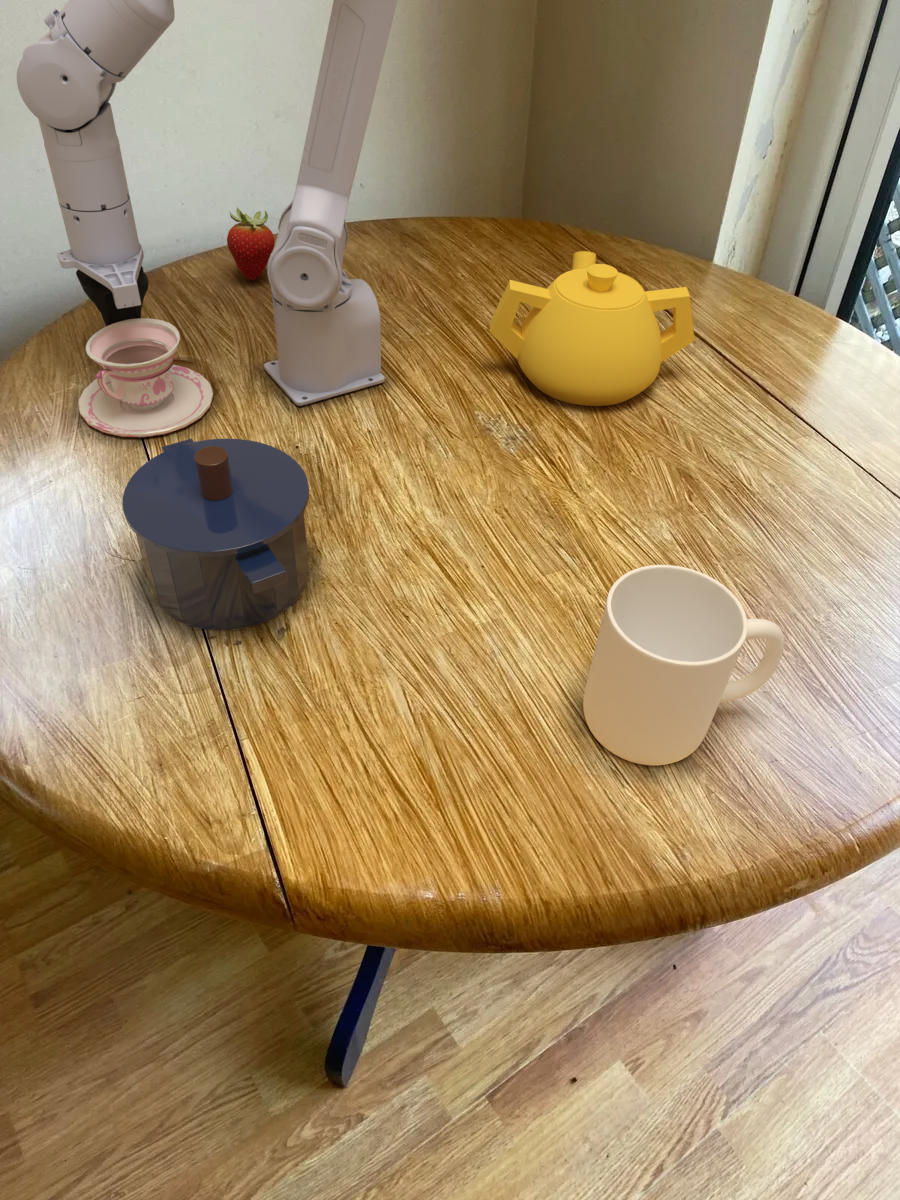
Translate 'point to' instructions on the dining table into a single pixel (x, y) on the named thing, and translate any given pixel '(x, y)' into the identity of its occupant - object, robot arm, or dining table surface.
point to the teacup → (141, 381)
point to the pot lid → (215, 497)
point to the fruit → (250, 244)
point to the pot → (229, 580)
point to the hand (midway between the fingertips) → (127, 345)
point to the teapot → (592, 332)
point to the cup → (669, 662)
